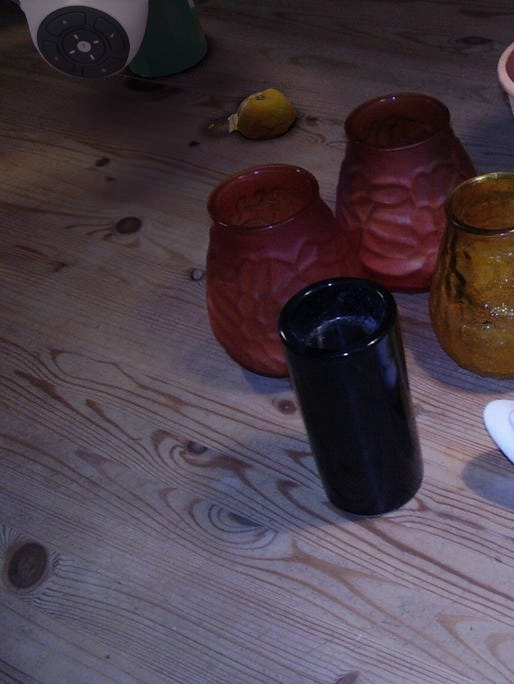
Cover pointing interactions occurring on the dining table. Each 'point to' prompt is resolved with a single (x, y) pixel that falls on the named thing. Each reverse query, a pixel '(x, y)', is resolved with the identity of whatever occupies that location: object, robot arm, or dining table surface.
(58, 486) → the dining table surface
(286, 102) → the fruit
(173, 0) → the holder
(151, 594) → the dining table surface
